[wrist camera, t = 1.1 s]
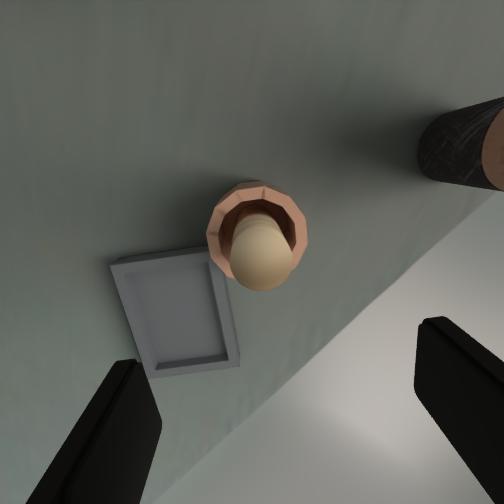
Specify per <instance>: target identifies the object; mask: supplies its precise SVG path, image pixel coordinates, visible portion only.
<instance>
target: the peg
mask: <svg viewBox="0 0 504 504" xmlns="http://www.w3.org/2000/svg"><path fill="white" fill-rule="evenodd" d="M292 266H293V256H292V252H291V249H290V247H289V245H288V243H287V241H286V240H285V238H284V236H283V234H282V232H281V230H280V228H279V226H278V224H277V222H276V221H275V219H274V217H273V215H272V213H271V212H270V210H269V209H267V208H266V207H265V206H263V205H259V204H251V205H247V206H245V207H244V208H242V209H241V210H240V211H239V213H238V214H237V216H236V220H235V226H234V234H233V241H232V248H231V255H230V268H231V272H232V274H233V276H234V277H235V279H236V280H237V281H238V282H239V283H240V284H241V285H243V286H244V287H246V288H248V289H251V290H256V291H266V290H270V289H273V288H275V287H277V286H279V285H280V284H282V283H283V282H284V281H285V280H286V279H287V277H288V276H289V274H290V272H291V270H292Z"/></svg>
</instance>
